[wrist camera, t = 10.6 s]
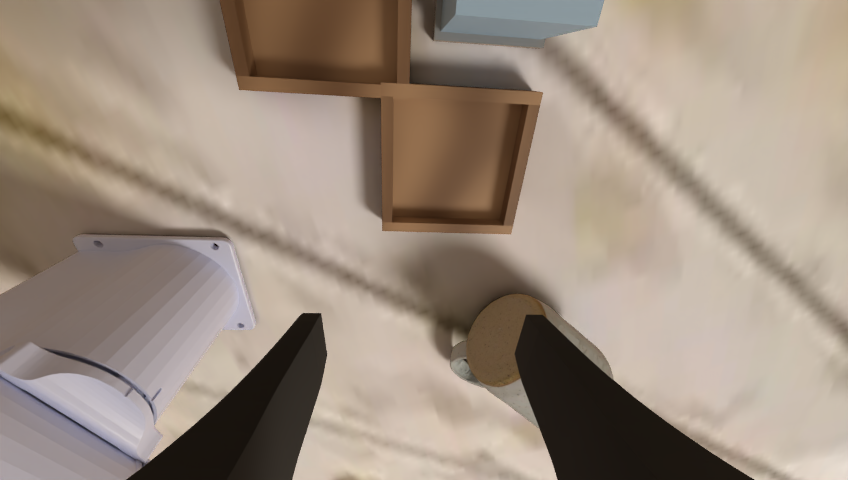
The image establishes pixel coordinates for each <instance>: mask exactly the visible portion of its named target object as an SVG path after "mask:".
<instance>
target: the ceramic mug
mask: <svg viewBox="0 0 848 480" xmlns="http://www.w3.org/2000/svg"><path fill="white" fill-rule="evenodd" d="M526 315H543V316H545V317H546V318H547V319H548V320H549V321H550V322H551V323H552V324H553V325H554V326H555V327H556V328H557V329H558V330H559V331H560V332H561V333H563V334H564V335H565V336H566V337H567V338H568V339H569V340H570V341H571V342H572V343H573V344H574V345H575V346H576V347H577V348H578V349H579V350H580V351H581V352H583V353H584V354H585V355H586V356H587V357H588V358H589V359H590V360H591V361H592V362H593V363H594V364H596V365H597V366H598V367H599V368H600V369H601V370H602V371H603V372H605V373H606V374H607V375H608V376H609V377H610V378H612V379H613V375H612V371H611V368H610V365H609V363H608V361H607V360H606V358H605V357H604V355H603V353H602V352H601V351H600V350H599V349H598V348H597V347H596V346H595V345H594V344H592V343H591V342H590V341H589V340H588V339H586V338H585V337H584V336H583V335H582V334H581V333H580V332H578V331H577V330H576V329H575V328H574V327H573V326H571V325H570V324H569V323H567V322H566V321H565V320H564V319H563V318H561V317H560V316H559V315H558V314H557V313H556V312H555V311H554V310H553V309H552V308H550V307H549V306H548V305H546V304H545V303H543V302H541V301H539V300H537V299H535V298H533V297H531V296H529V295H524V294H510V295H506V296H503V297H501V298H499V299H497V300H495V301H493V302H492V303H490V304H489V305H488V306H487V307H486V308H485V309H484V310H483V311H482V312H481V313H480V314H479V315H478V317H477V318H476V320H475V321H474V323H473V325H472V327H471V329H470V332H469V335H468V339H467V340H466V341H462V342H460V343H458V344H457V345H455V346H454V348H453V350H452V354H451V359H450V367H451V369H452V371H453V372H454V373H455V374H456V375H457V376H459V377H460V378H461V379H463V380H465V381H467V382H469V383H471V384H474V385H476V386H479V387H483V388H486V389H487V390H488V391H489V392H491V393H492V394H493V395H494V396H496V397H497V398H499V399H500V400H502V401H503V402H505V403H506V404H508V405H509V406H510V407H512V408H513V409H514V410H515V411H516V412H518V413H519V414H520V415H522V416H523V417H524V418H526V419H527V420H528V421H530V422H531V423H532V424H534V425H535V426H536V427H538V428H539V426H538V423H537V421H536V418H535V416H534V413H533V410H532V408H531V405H530V403H529V400H528V398H527V395H526V392H525V390H524V387H523V384H522V382H521V378H520V374H519V371H518V367H517V363H516V358H515V354H514V353H515V350H516V347H517V343H518V340H519V337H520V333H521V330H522V327H523V323H524V320H525V317H526ZM465 358H467V362H468V363H467V362H466V361H465V360H464V359H465Z"/></svg>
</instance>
